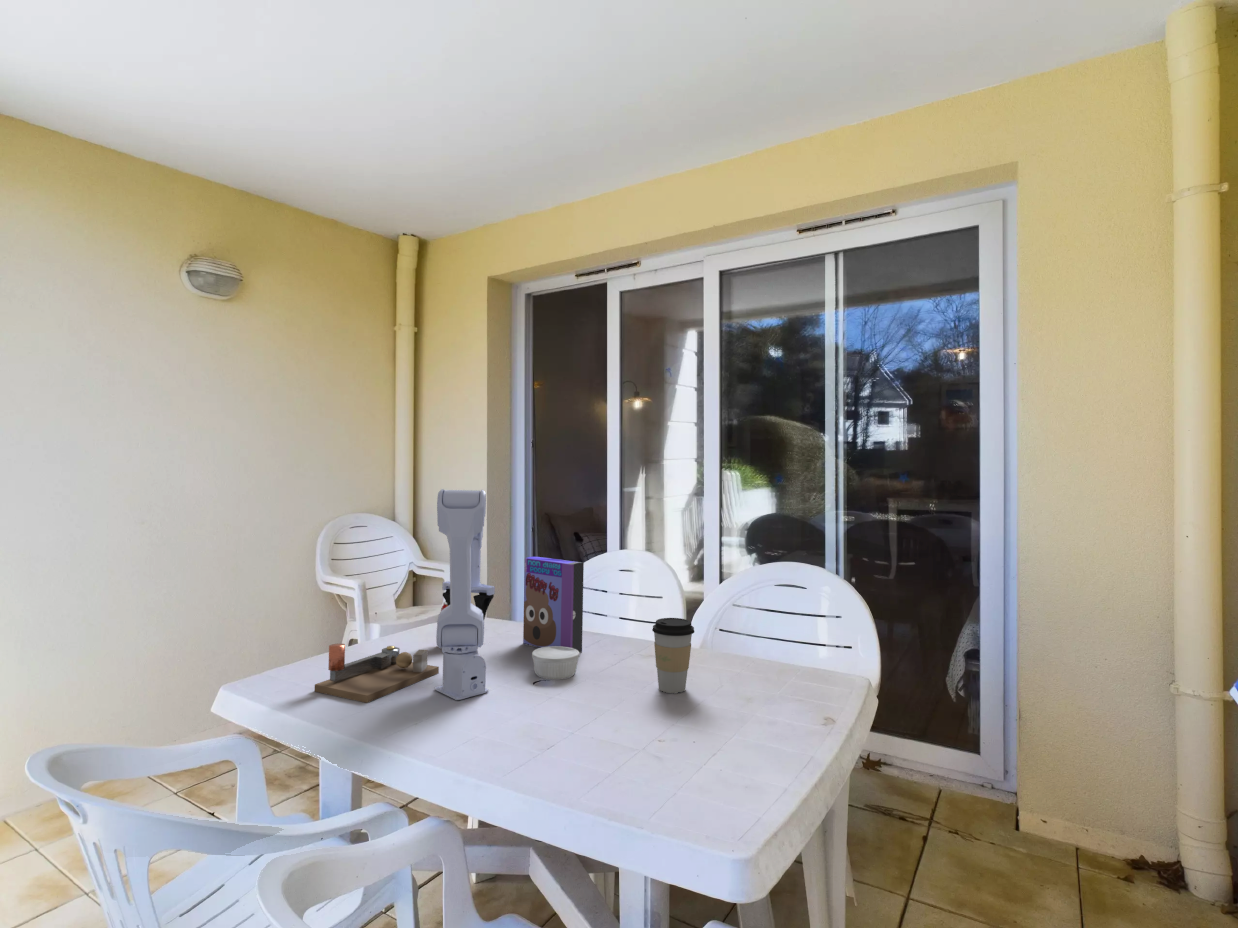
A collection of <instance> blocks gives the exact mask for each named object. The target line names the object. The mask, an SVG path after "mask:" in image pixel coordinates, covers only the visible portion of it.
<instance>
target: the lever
mask: <svg viewBox="0 0 1238 928" xmlns="http://www.w3.org/2000/svg"><path fill="white" fill-rule="evenodd" d="M400 650H401V649H400V647H397V646H395V645H388V646H386V647H383V648H382V649H381V652H378V653H375V654H371V655H369V656H365V657H362V658H360V659H356V660H354V661H351V662H348V663H345V660H346V644H345V643H332V644H330V645H328V671H329V679H330V681H333V682H336V681H339V680H342V679H344V678H347V677H350V676H353V675H356V674H358V673H361V672H364V671H367V670H370V669H373V668H375V667H376V668H381V669H382V668H384V667H387V666H390V665H391V664H395V663H396V658H397V656H398V655H399V654H400Z"/></svg>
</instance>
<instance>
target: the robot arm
mask: <svg viewBox="0 0 1238 928" xmlns="http://www.w3.org/2000/svg"><path fill="white" fill-rule="evenodd" d="M436 499H437V501H436V512H437V513H436V514H437V518H436V519H437V522H436V523H437V526H438V527H437V528H438V532H440V533H441V534H443V535H445V536H446V539H447V543H448V547H449V581H448V580H447V581H444V582H442V591H445V592H442V597H443V599H444V602H445V601H446V603H447V605H448V606H447V607H446V608H444V609H443V610H442V611H441V610H440V612H439V614H438V616H437V621H436V622H437V624H436V625H437V626H436V636H435V637H436V640H435V641H436V647H438V648H439V649H441V652H442V654H443V655H442V685H438V686H435V687H434V690H435V691H437V692H439V693H441V694H443V695H445V696H447V697H449V698H451V699H453V700H454V701H455V700H456V701H460V700H464V699H468V698H472V697H474V696H479V695H482V694H486V693H489V691H490V690H489V689H488V688H486V678H487V677H486V673H487V671H486V669H487V667H486V666H487V665H486V661H485V658H483V657H482V656H481V655H480V653H479V651H478V649H479V648H481V647H482V646H483V645H484V640H485V617H486V614H487V611H488V608H489V607H490V604H491V603H492V601H493V598H494V597H495V596H494V595H495V593H496V591H495V588H496V587H495V586H494V585H489V584H484V583H481V564H482V563H481V557H482V555H481V553H482V552H481V551H482V550H481V549H482V545H483V544H482V543H483V542H482V541H483V537H484V527H485V517H486V509H487V493H486V491H485V490H484V489H478V490H477V489H475V490H473V489H468V490H467V489H466V490H465V489H444V488H443V489H442V488H440V490H439V491H438V493H437V498H436ZM472 594H476V595H473V601H474V604H473V603H472Z"/></svg>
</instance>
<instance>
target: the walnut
mask: <svg viewBox="0 0 1238 928" xmlns="http://www.w3.org/2000/svg"><path fill="white" fill-rule="evenodd" d="M412 662H413V655H411V653H409V652H407V651H403V652H399V655H398V656H397V658H396V664H397V665H398V666H399V667H400V668H407V667H409V666H410V665H411V663H412Z"/></svg>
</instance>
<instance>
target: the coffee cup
mask: <svg viewBox="0 0 1238 928" xmlns="http://www.w3.org/2000/svg"><path fill="white" fill-rule="evenodd" d="M651 629H652V632H653V633H654V635H653V636H654V643H653V644H654V654H655V655H654V657H655V667H656V673H657V687H658V689H659V691H660V692H662V691H663V692H662V693H665V692H666V694H673V693H674V694H679V693H678V692H681V693H683V692H682V691H684V690H685V691H686V686H687V678H688V670H689V667H690V659H691V651H692V637H693V636H692V634H694V633H695V627H694V626H693V625H692V622H691V621H690V620H688V619H685V618H680V617H679V618H678V617H663V618H659V619H656V620H655V624H653V625H652V628H651ZM685 691H684V692H685Z"/></svg>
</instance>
